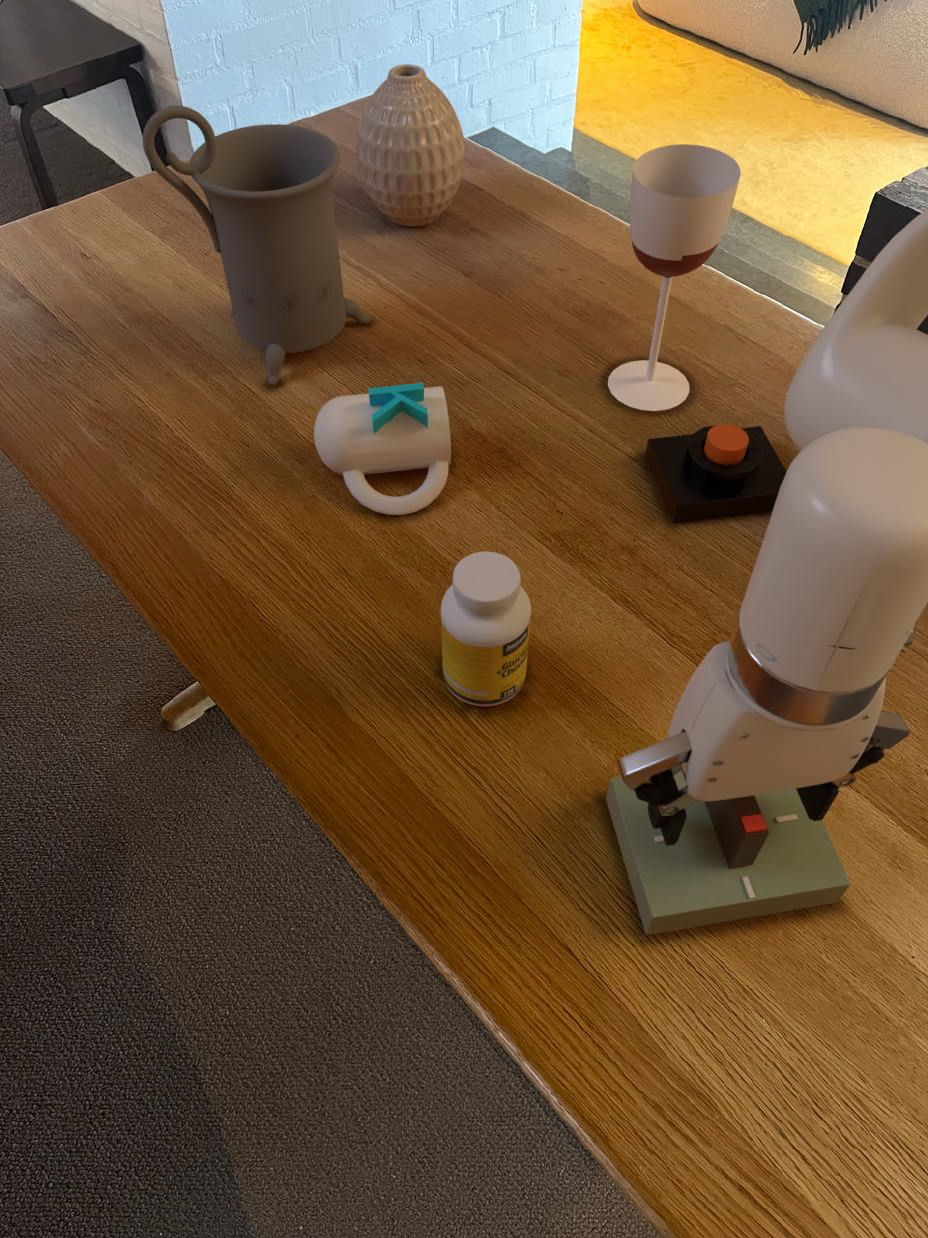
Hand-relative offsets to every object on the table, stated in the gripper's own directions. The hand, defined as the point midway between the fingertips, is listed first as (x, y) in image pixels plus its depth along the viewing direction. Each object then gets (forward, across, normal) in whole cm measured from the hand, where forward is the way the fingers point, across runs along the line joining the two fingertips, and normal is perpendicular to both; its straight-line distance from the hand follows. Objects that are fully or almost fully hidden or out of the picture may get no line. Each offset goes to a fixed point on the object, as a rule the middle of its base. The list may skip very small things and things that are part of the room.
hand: (735, 812), depth 62 cm
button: (+2, -12, -35) cm, 37 cm away
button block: (+5, -12, -35) cm, 37 cm away
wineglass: (+5, -10, -50) cm, 51 cm away
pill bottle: (+5, +13, -17) cm, 22 cm away
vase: (+6, +9, -88) cm, 88 cm away
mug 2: (+5, +18, -41) cm, 45 cm away
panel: (+5, 0, 0) cm, 5 cm away
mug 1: (+5, +26, -64) cm, 69 cm away
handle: (+2, 0, 0) cm, 2 cm away
